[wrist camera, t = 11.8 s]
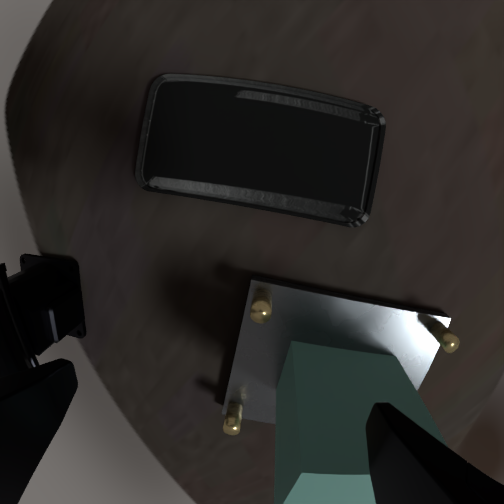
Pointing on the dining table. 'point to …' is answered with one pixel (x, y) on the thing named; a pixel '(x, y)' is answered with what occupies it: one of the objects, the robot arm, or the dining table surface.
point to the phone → (261, 147)
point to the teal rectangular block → (334, 421)
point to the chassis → (321, 339)
